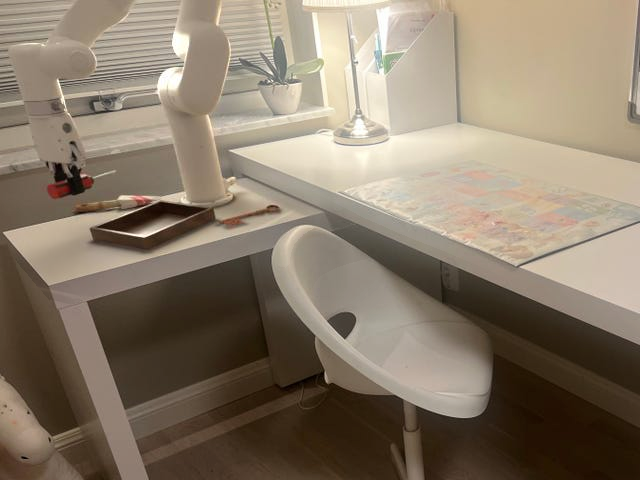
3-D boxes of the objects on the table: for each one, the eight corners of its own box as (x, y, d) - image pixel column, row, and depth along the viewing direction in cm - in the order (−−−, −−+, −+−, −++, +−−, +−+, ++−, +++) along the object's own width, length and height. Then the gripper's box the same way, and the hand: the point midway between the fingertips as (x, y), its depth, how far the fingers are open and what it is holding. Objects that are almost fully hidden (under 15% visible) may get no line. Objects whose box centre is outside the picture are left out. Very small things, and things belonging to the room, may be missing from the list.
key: (227, 229, 166) (286, 213, 174) (226, 226, 165) (286, 210, 174) (216, 221, 170) (275, 206, 178) (215, 217, 169) (274, 202, 177)
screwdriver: (113, 178, 173) (108, 165, 172) (122, 178, 172) (118, 165, 170) (50, 199, 160) (44, 184, 158) (59, 199, 158) (54, 185, 157)
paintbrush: (158, 194, 180) (72, 205, 177) (161, 205, 181) (76, 216, 178) (160, 189, 183) (76, 200, 180) (164, 200, 184) (80, 211, 181)
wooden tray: (164, 212, 177) (160, 199, 175) (216, 220, 171) (213, 207, 169) (93, 241, 161) (89, 227, 159) (148, 251, 155) (144, 237, 153)
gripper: (88, 106, 153) (112, 192, 162) (35, 101, 159) (61, 184, 169) (57, 113, 147) (83, 201, 157) (3, 108, 154) (32, 193, 163)
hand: (71, 192), depth 163 cm, fingers closed on screwdriver, 3 cm apart
